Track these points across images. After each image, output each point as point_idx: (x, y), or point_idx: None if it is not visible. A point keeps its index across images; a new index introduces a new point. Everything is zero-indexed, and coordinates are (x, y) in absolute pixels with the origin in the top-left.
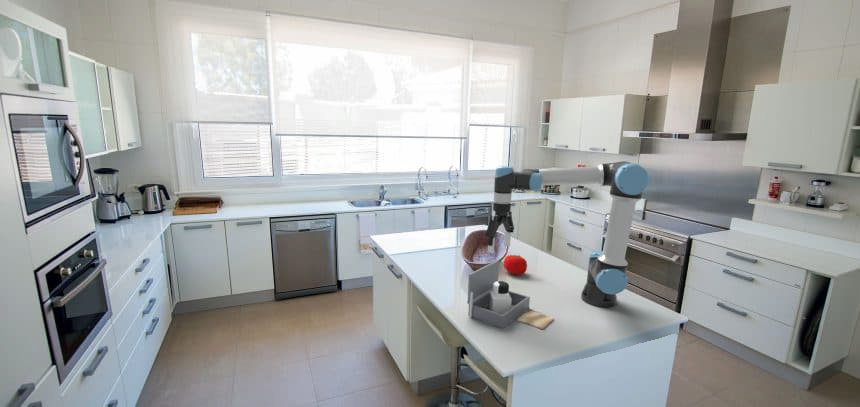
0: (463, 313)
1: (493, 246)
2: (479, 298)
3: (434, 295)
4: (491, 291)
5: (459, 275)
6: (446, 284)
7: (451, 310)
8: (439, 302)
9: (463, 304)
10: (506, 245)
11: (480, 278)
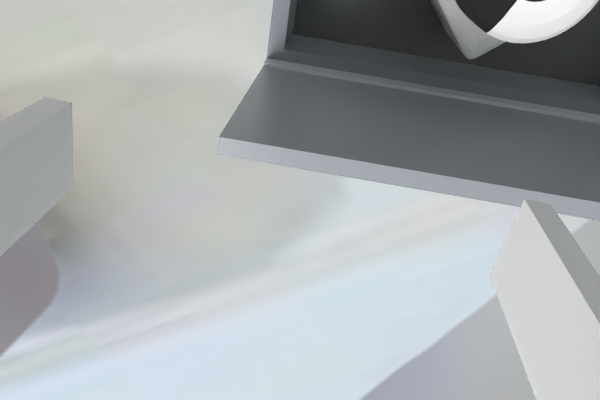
0: None
1: (590, 269)
2: (524, 101)
3: (437, 329)
4: (479, 47)
5: (130, 321)
6: (279, 331)
7: None
8: None
9: None
10: (68, 152)
11: (568, 162)
